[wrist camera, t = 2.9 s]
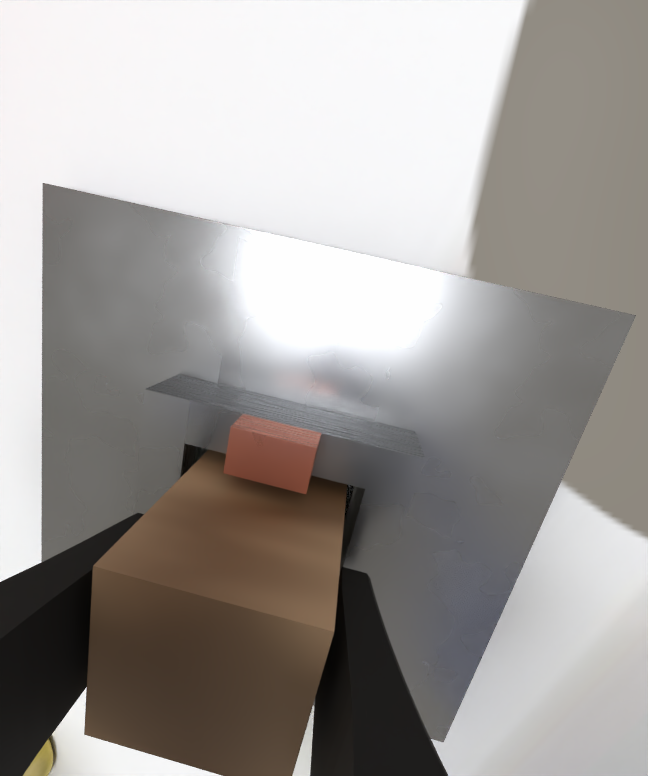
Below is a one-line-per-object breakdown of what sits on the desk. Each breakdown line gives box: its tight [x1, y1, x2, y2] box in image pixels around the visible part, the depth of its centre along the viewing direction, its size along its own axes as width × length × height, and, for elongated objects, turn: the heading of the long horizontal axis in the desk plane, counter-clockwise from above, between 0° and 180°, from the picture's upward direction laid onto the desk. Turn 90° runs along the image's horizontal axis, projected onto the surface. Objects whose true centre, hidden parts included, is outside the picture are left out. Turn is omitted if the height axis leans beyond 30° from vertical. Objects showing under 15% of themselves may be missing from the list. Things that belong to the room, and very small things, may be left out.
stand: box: [42, 183, 636, 742], centre depth 11 cm, size 16×16×4 cm
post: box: [84, 450, 347, 776], centre depth 9 cm, size 4×4×6 cm
